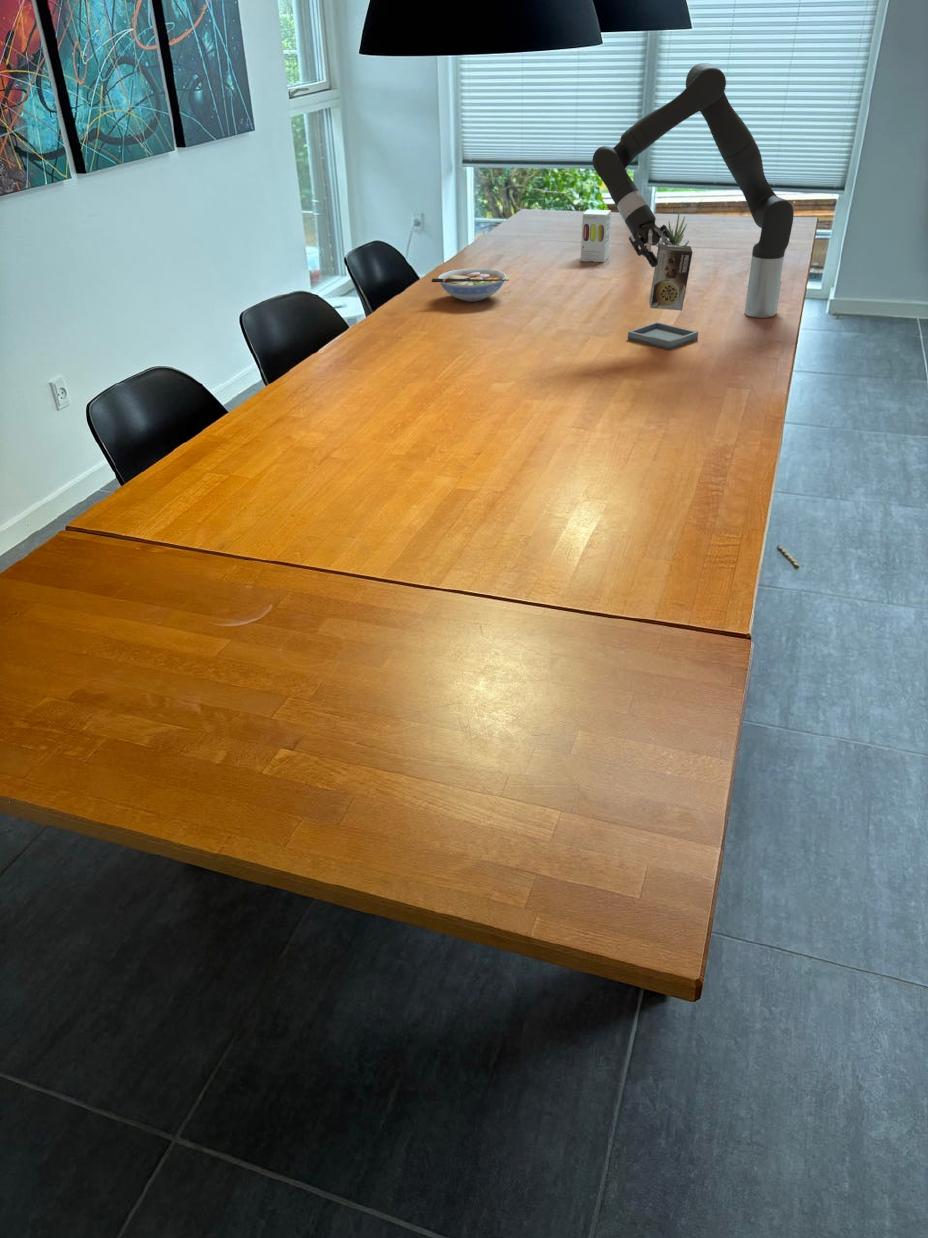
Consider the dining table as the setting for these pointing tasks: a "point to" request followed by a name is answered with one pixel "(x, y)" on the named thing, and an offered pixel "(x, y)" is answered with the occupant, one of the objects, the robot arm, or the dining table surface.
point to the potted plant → (678, 235)
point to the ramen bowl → (471, 283)
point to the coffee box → (670, 277)
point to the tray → (663, 335)
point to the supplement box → (595, 235)
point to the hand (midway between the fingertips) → (665, 262)
